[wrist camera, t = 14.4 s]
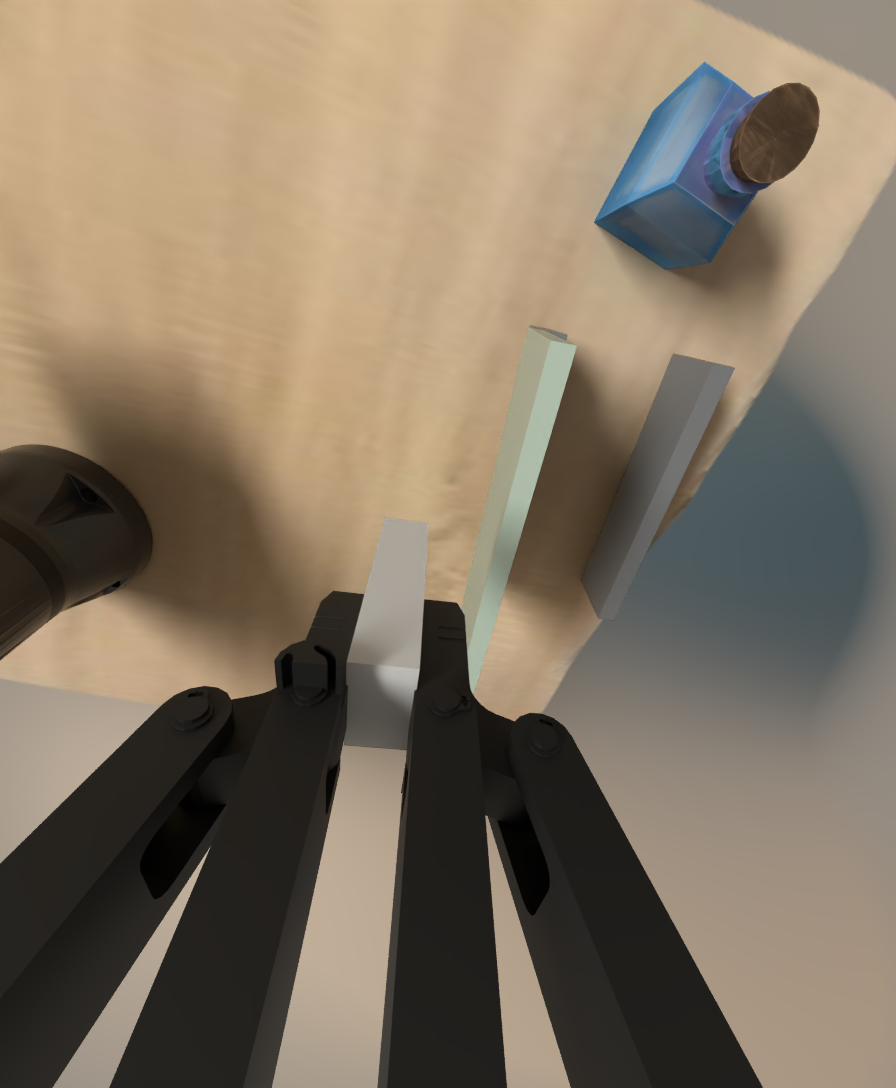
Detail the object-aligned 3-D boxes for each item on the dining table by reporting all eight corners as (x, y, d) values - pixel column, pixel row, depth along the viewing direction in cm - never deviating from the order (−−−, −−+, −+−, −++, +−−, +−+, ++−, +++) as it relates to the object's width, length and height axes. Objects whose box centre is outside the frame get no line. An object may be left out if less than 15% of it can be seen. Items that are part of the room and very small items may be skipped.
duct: (472, 564, 43) (475, 600, 38) (530, 325, 32) (544, 330, 27) (595, 582, 44) (613, 620, 39) (691, 357, 33) (735, 367, 28)
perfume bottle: (729, 167, 28) (895, 87, 17) (665, 269, 30) (774, 253, 20) (653, 110, 26) (783, -14, 16) (594, 222, 29) (671, 178, 19)
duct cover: (474, 598, 38) (463, 596, 38) (543, 329, 27) (527, 326, 27) (464, 723, 27) (449, 720, 27) (577, 345, 16) (550, 340, 16)
